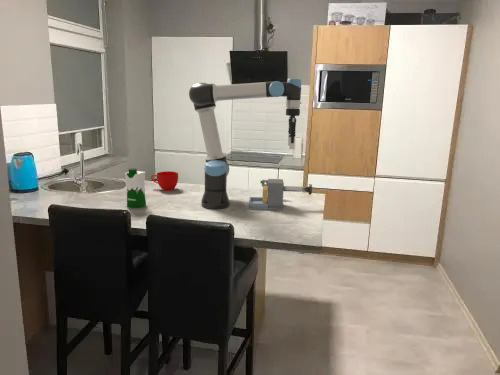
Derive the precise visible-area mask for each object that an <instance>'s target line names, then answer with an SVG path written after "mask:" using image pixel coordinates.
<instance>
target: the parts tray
mask: <svg viewBox="0 0 500 375" xmlns="http://www.w3.org/2000/svg"><path fill="white" fill-rule="evenodd" d="M262 197H263V196H249V198H248V209H249V210H267V209H268V204H266V203H262Z"/></svg>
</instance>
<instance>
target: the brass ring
mask: <svg viewBox="0 0 500 375" xmlns="http://www.w3.org/2000/svg"><path fill="white" fill-rule="evenodd" d="M261 197H262V203H266V204H267V197H268V186H263V187H262V196H261Z"/></svg>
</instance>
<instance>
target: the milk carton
mask: <svg viewBox="0 0 500 375" xmlns="http://www.w3.org/2000/svg"><path fill="white" fill-rule="evenodd" d="M146 173H147V172H146V171H140V170H137V168H133V167H132V168H128V171H127V172H124V178H125V183H126V184H125V185H126V186H125V187H126V207H127V208H136V209H140V208H142V207H144V206H146V205H147V200H146V187H145V185H146V184H145V178H146Z"/></svg>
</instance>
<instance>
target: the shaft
mask: <svg viewBox="0 0 500 375" xmlns="http://www.w3.org/2000/svg"><path fill="white" fill-rule="evenodd" d="M312 191H313V185H312V184H311V183H310V184H308V186H295V185H292V186H291V185H284V189H283V192H293V193H295V192H297V193H300V192H301V193H308V195H310V196H311V195H312V193H313V192H312Z"/></svg>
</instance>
